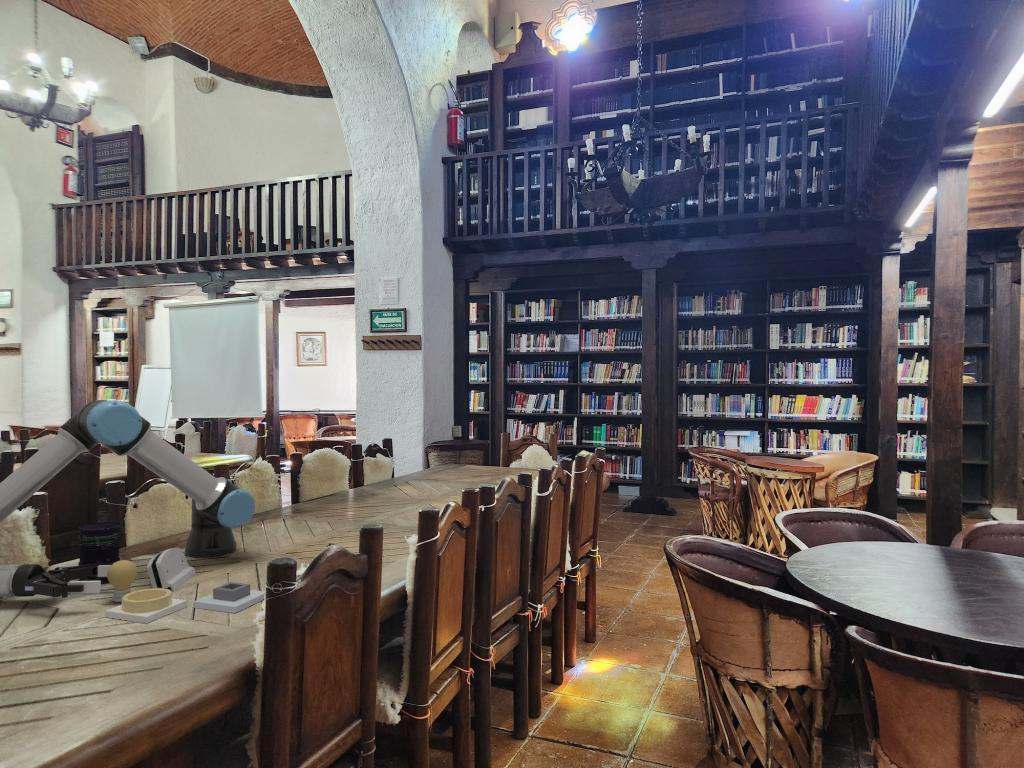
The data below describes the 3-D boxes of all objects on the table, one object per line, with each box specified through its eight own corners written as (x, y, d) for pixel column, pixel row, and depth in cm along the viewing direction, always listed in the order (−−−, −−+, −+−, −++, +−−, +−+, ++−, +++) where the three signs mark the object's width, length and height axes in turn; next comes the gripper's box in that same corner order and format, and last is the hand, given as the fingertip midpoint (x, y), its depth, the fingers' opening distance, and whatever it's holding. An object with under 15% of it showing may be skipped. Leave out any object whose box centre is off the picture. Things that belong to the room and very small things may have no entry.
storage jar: (69, 582, 174) (70, 527, 174) (105, 573, 183) (106, 520, 183) (92, 588, 170) (93, 531, 170) (128, 578, 179) (129, 524, 179)
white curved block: (173, 591, 168) (160, 555, 168) (155, 598, 168) (142, 562, 167) (196, 573, 185) (184, 540, 184) (179, 579, 184) (167, 546, 184)
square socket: (228, 592, 168) (228, 577, 168) (267, 597, 165) (268, 582, 165) (193, 607, 157) (194, 591, 157) (235, 613, 153) (235, 596, 153)
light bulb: (105, 606, 156) (106, 565, 156) (107, 598, 162) (108, 558, 162) (135, 603, 159) (136, 562, 159) (137, 595, 165) (138, 556, 165)
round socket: (147, 601, 161) (148, 585, 161) (187, 606, 157) (187, 590, 157) (104, 617, 149) (105, 600, 149) (146, 623, 146) (146, 605, 146)
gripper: (48, 580, 169) (135, 578, 172) (-16, 613, 144) (87, 610, 147) (48, 551, 169) (135, 550, 172) (-15, 580, 144) (88, 577, 147)
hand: (113, 578), depth 160 cm, fingers open, 13 cm apart
